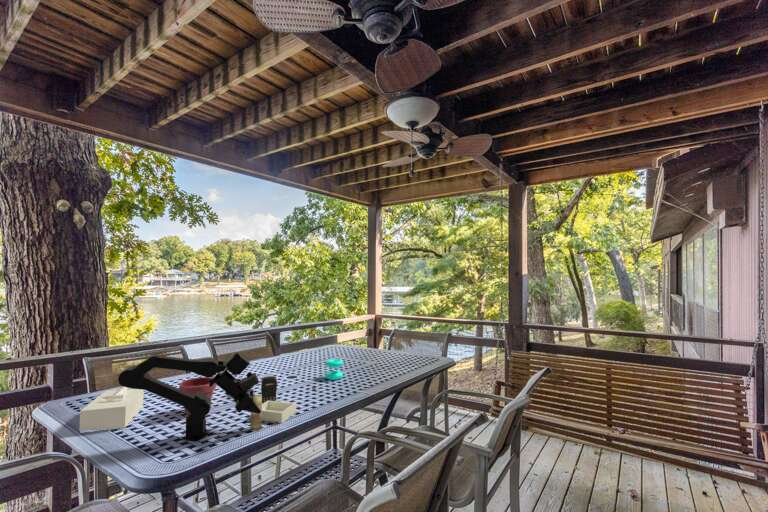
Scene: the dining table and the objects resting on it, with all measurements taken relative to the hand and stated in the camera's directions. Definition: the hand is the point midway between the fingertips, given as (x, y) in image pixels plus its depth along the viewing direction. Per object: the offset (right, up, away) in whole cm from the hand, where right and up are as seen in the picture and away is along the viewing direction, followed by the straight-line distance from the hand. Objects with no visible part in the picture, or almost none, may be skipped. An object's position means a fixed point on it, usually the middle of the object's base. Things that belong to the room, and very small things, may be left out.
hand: (260, 410), depth 143 cm
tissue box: (-63, -8, +9) cm, 64 cm away
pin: (-1, -7, -1) cm, 7 cm away
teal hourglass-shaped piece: (+19, -11, +69) cm, 73 cm away
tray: (+2, -7, +12) cm, 14 cm away
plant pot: (-33, -8, +17) cm, 38 cm away
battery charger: (-6, -8, +29) cm, 31 cm away
